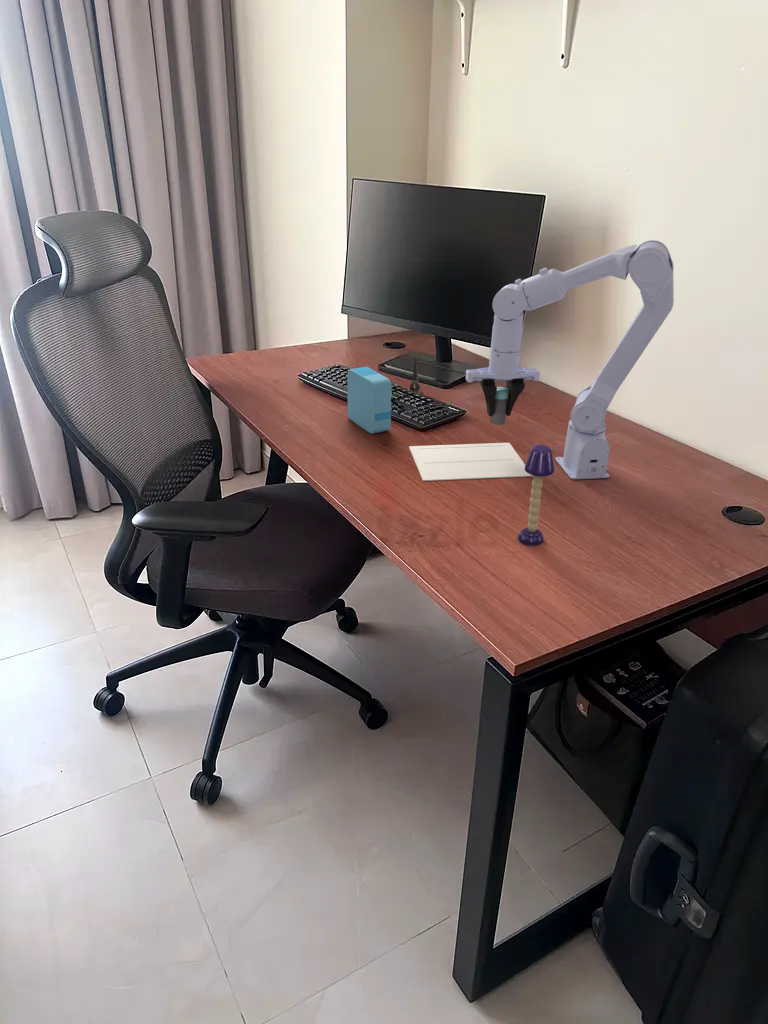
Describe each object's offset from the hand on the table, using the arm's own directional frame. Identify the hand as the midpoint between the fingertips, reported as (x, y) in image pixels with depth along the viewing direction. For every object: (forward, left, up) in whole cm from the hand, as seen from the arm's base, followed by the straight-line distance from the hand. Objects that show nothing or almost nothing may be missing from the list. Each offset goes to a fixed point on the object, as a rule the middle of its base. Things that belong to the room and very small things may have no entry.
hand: (498, 414), depth 150 cm
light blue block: (+18, +24, -9) cm, 31 cm away
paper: (-3, +6, -9) cm, 11 cm away
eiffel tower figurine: (+32, +12, -9) cm, 36 cm away
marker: (0, 0, -2) cm, 2 cm away
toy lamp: (-34, +3, -9) cm, 36 cm away
